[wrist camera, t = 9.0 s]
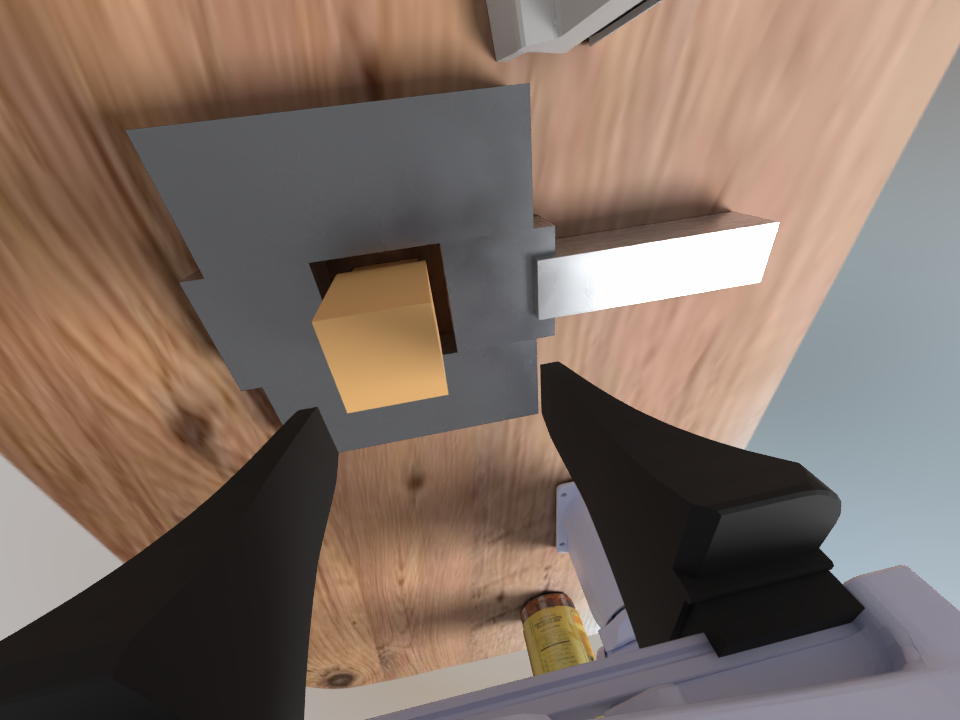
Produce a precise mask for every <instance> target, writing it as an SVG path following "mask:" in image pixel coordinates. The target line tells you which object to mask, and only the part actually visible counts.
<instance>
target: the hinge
mask: <svg viewBox="0 0 960 720" xmlns="http://www.w3.org/2000/svg"><path fill="white" fill-rule="evenodd" d="M661 1H663V0H486V3H487V9H488V15H489V21H490V27H491V33H492V39H493V44H494V50H495V56H496V62H504V61H510V60H512V59H514V58H516V57H518V56H520V55H522V54H524V53H526V52H542V53H563V54H565V53H566V52H567V51H569V50H570V49H572V48H573V47H575V46H576V45H578V44H579V43H581V42H582V41H584V40H585V39H586V38H588V37H589V46H590V47H591V46H592V45H594V44H595V43H597V42H599V41H600V40H602V39H603V38H605V37H607V36H608V35H610V34H611V33H613V32H615V31H616V30H618V29H619V28H621V27H622V26H624V25H625V24H627V23H629V22H630V21H632V20H633V19H635V18H636V17H638V16H639V15H641V14H643V13H644V12H646V11H647V10H649V9H650V8H652V7H653V6H655V5H656V4H658V3H660V2H661Z"/></svg>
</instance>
